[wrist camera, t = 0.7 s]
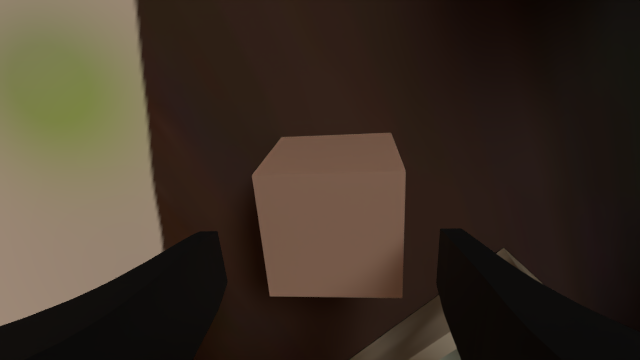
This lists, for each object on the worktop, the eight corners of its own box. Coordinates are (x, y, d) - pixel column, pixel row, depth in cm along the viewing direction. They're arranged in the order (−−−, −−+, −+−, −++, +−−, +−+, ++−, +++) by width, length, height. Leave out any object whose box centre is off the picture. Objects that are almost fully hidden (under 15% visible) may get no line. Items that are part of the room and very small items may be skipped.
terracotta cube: (390, 132, 15) (405, 171, 11) (389, 229, 17) (402, 297, 13) (281, 136, 16) (251, 175, 11) (292, 230, 18) (269, 296, 13)
